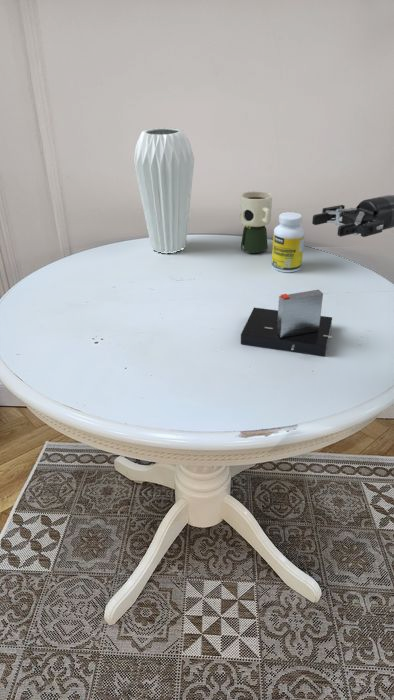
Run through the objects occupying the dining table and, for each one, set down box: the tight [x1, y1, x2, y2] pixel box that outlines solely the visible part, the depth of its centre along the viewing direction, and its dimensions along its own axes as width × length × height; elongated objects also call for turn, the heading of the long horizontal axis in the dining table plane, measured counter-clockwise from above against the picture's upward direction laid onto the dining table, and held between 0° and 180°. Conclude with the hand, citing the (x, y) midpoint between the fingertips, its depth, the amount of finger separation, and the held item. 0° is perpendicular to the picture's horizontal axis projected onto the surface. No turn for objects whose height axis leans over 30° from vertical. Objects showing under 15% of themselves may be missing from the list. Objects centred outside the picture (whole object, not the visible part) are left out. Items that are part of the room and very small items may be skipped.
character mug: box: [239, 190, 273, 254], centre depth 122 cm, size 11×7×13 cm, turn 26°
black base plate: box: [240, 306, 333, 357], centre depth 90 cm, size 15×13×2 cm
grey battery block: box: [277, 289, 324, 338], centre depth 87 cm, size 7×2×7 cm, turn 107°
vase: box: [133, 127, 195, 253], centre depth 120 cm, size 13×13×26 cm
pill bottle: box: [271, 211, 306, 273], centre depth 113 cm, size 6×6×12 cm
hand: (325, 225), depth 116 cm, fingers open, 8 cm apart
